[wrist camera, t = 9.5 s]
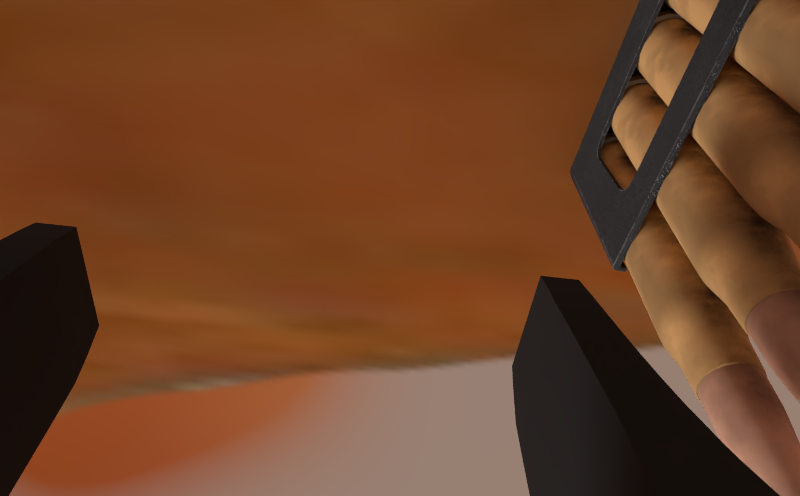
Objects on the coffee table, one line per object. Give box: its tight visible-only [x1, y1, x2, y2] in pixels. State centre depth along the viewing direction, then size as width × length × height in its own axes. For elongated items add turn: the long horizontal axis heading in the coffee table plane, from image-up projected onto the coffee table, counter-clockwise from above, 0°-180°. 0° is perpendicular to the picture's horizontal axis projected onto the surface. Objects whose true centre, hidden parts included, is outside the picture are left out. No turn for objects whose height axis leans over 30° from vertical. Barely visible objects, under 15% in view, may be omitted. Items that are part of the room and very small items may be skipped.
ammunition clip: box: [571, 0, 800, 496], centre depth 11 cm, size 11×2×12 cm, turn 169°
